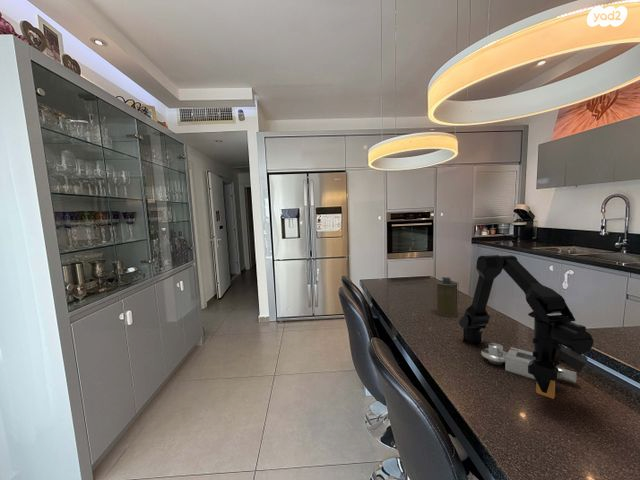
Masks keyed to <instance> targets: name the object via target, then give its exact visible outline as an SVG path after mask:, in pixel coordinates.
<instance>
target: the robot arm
mask: <svg viewBox="0 0 640 480" xmlns="http://www.w3.org/2000/svg"><path fill="white" fill-rule="evenodd" d="M475 267H476V270H477V272H478V279H477V283H476V287H475V291H474V294H473V299H472V302H471V305H470V306H468V307H467V308H466V309H465V312H464V314H463V316H462V317H461V318H460V319H459V321H458V323H459V327H461V328H463V330H462V331H463V332H462V333H463V334H462V335H463V338H462V339H461V342H463V343H466V344H471V345H474V346H478V347H479V346H480V345H481V344H483V342H484V332H483V329H486V328H487V325H488V324H489V322H490V321H489V320H490V318H491V315H490V314H489V313H488V311H487V310H486V309H487V305H488V302H489V299H490V294H491V292H492V287H493V284H494V281H495V279H496V277H497V278H498V276H499V275H501V274H502V271H504V272H506V274H507V275H508V276H509V277H510V279H512V281H514V282H515V284H516V285H517V286H518V287H519V288H520V289H521V290H522V292H523V293H524V295H525V301H526V302H527V304H528V306H529V307H530V309H531V310H532V311H530V312H529V313H528V315H527V316H528V317H531V318H534V320H533V338H532V344H533V350H532V353H533V357H535V359H536V360H535V359H534V360H531V361H530V362H529V365H528V373H529V374H532V375H533V376H534V378H535V379H536V380H535V379H534V380H535V382H536V381H537V383H538V385H539V387H540V389H541V391H542V392H544V393H547V391H548V387H549V384H550V381H551V380H552V381H555V382H558V379H559V378H558V372H559V369H558V368H559V367H558V366H559V365H561V364H564V365H565V366H568V367H569V368H571V369H573V370H574V371H575V372H578V373H582V372H583V371H584V369H585V367H586V366H587V365H588V358H587V356H586V354H587V353H588V352H589V351H590V350H591V349H592V348H593V346H594V338H593V336H592V334H590V333H589V332H588V331H587V327H586V326H584V325H582V324H577V323H575V322H576V318H575V317H574V314H573V312H572V311H571V310H570V308H569V307H568V305H567V302H566V299H565V298H564V297H563V296H562V295H561V294H560V293H558V292H557V291H555V290H554V289H552V288H550V287H548V286H545V285H543V284H542V283H541V282H539V281H538V280H537V278H535V277H534V276H533V275H532V274H531V273H530V272H529V270H527V268H525V267H524V266H523V265H522V264H521V263H520V261H519V260H518V258H517V257H516V256H515V255H511V254H507V255H499V254H491V255H490V254H489V255H488V254H487V255H480V256H478V258H477V260H476V266H475ZM557 367H558V368H557Z"/></svg>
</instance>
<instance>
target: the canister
mask: <svg viewBox="0 0 640 480" xmlns="http://www.w3.org/2000/svg"><path fill="white" fill-rule="evenodd" d="M459 284H460V283H459V282H457V281H453V280H452V279H451V277H448V276H446V277H445V276H442V277H441V280H437V281H436V314H437V315H439V316H442V317H446V318H452V317H453V318H454V316H455V317H457V316H458V315H459V314H458V304H459V302H460V301H459V299H460V297H459V296H460V295H459V294H460V293H459V292H460V291H459V287H460V285H459Z"/></svg>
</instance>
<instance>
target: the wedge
mask: <svg viewBox="0 0 640 480" xmlns="http://www.w3.org/2000/svg"><path fill="white" fill-rule="evenodd" d="M535 382H536V384H535V385H536V386H535V387H536V389H535V392H536V394H538V395H541V396H544V397H547V398H549V399H552V400H554V399H555V395H556V381H552V380H551V381H550V384H549V387H548V391H547V393H544V392H542V391H541V389H540V387H539V385H538V383H537V381H536V380H535Z"/></svg>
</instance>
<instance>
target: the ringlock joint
mask: <svg viewBox="0 0 640 480" xmlns="http://www.w3.org/2000/svg"><path fill="white" fill-rule="evenodd" d="M480 354H481V356H482V357H483V358H485V359H486V360H488V362H489V363H491V364H493V365H496V366H497V365H499V366H500V365H503V364H504V363H505V364H504V365H505V367H504V369H505V371H506V372H509V373H512V374H515V375H519V376H522V377H525V378H528V379H531V380H535V381H536V379H535V378H534V376H533V375H532V374H529V373H528V365H529V362H530V361H531V360H534V359H535V357H533V351H532V352H531V351H528V350H523V349H519V348H517V347H512V346H510V347H509V350H508V352H507V351H505V350H504V346H503V345H502V344H499V343H498V342H490V343H488V347H485V348H482V349H481V351H480ZM535 360H536V359H535ZM556 367H557V368H558V369H559V372H558V379H561V380H566V381H569V382H573V383H576V384H577V371H573V370H569V369H565V368H562V367H558V366H556Z"/></svg>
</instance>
